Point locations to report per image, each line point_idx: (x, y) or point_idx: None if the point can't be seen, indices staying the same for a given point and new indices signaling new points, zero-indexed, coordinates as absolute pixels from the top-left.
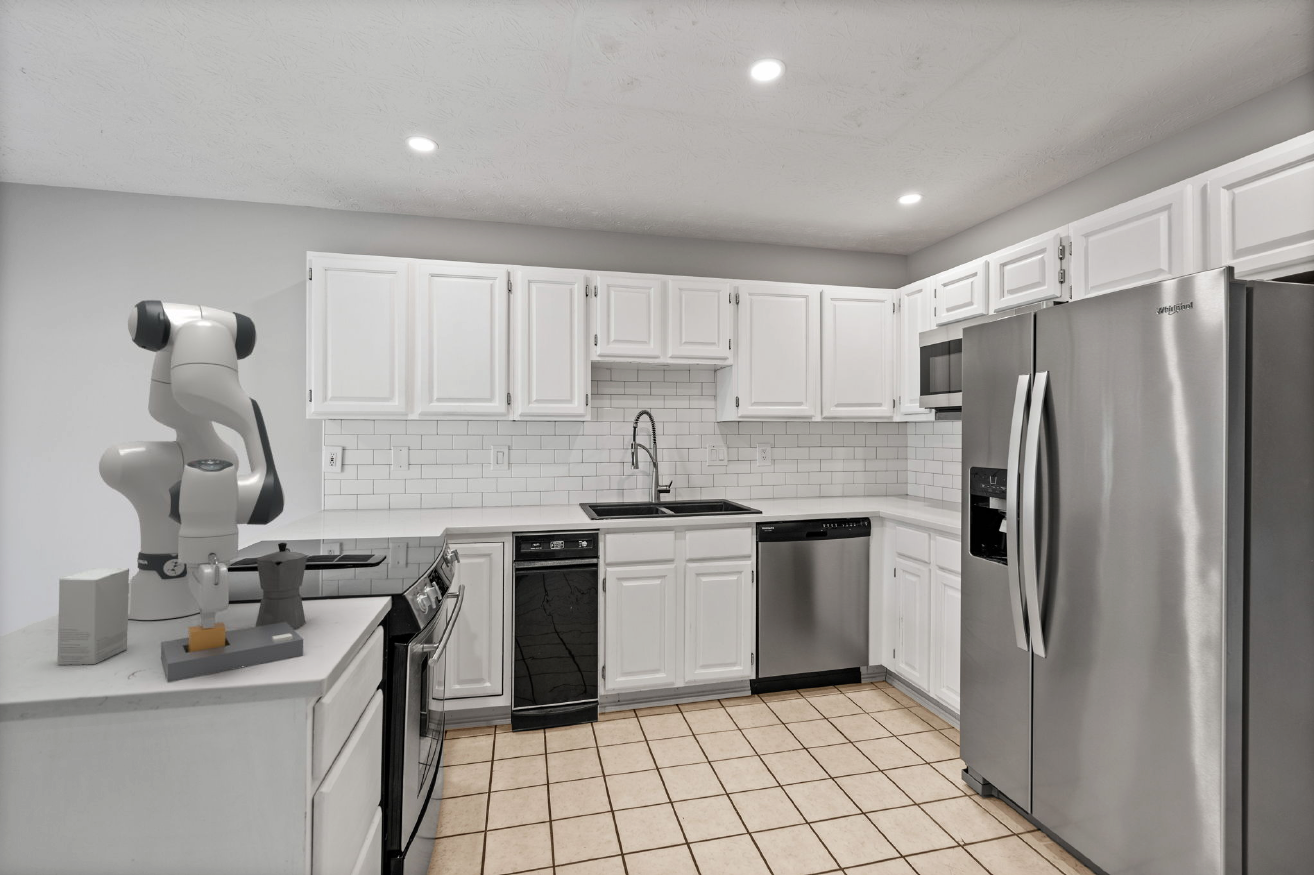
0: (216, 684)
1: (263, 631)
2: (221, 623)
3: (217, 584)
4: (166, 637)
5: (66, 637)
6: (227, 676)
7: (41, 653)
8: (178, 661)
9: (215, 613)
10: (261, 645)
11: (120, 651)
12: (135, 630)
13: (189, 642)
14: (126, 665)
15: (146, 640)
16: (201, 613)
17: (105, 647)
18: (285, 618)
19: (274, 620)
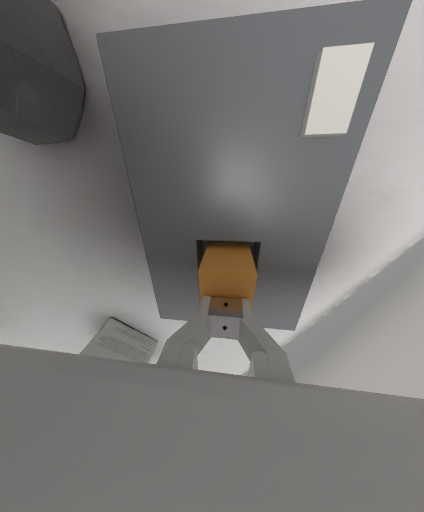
0: (364, 266)
1: (187, 146)
2: (212, 274)
3: (77, 445)
4: (67, 280)
5: None
6: (339, 247)
7: None
8: (295, 320)
9: (267, 334)
10: (333, 179)
11: (122, 324)
12: (26, 300)
13: None
14: (178, 324)
15: (76, 298)
16: (205, 342)
17: (137, 349)
18: (27, 28)
19: (43, 81)
